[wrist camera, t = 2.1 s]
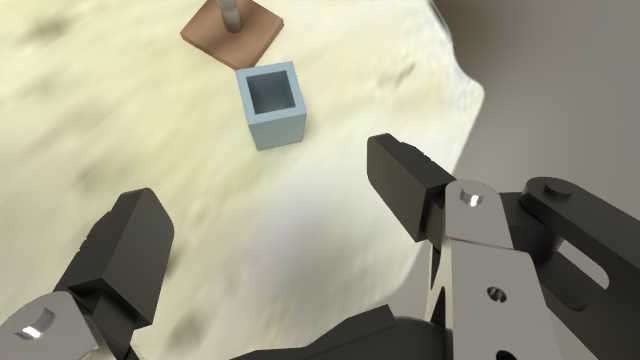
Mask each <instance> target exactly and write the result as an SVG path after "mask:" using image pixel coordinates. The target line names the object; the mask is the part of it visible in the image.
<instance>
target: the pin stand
mask: <svg viewBox="0 0 640 360" xmlns="http://www.w3.org/2000/svg"><path fill="white" fill-rule="evenodd" d="M282 27H283V19H282V18H280V17H279V16H277V15H275V14H274V13H272V12H270V11H269V10H267V9H265V8H264V7H262V6H261V5H259V4H257V3H256V2H254V1H252V0H207V1H206V2H205V4H204V5H203V6H202V7H201V8H200V9H199V11H198V12H197V13H196V14H195V15H194V17H193V18H192V19H191V20H190V21H189V22H188V24H187V25H186V26H185V27H184V28H183V30H182V31H181V32H180V34H181V36H182V38H183V39H184V40H185V41H187V42H189V43H190V44H192V45H194V46H195V47H197V48H199V49H200V50H202V51H204V52H205V53H207V54H209V55H210V56H212V57H214V58H215V59H217V60H219V61H220V62H222V63H224V64H225V65H227V66H229V67H230V68H232V69H234V70H240V69H247V68H253V67H254V65H255V64H256V63H257V61H258V60H259V58H260V57H261V56H262V54H263V53H264V52H265V50H266V49H267V47H268V46H269V45H270V43H271V42H272V41H273V39H274V38H275V36H276V35H277V34H278V32H279V31H280V30H281V28H282Z"/></svg>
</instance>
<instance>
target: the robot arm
mask: <svg viewBox="0 0 640 360" xmlns="http://www.w3.org/2000/svg"><path fill="white" fill-rule="evenodd" d="M367 175H368V179H369V181H370V183H371V185H372V186H373V188H374V189H375V190H376V192H377V193H378V194H379V195H380V197H381V198H382V199H383V201H384V202H385V203H386V205H387V206H388V207H389V208H390V210H391V211H392V212H393V214H394V215H395V216H396V218H397V219H398V220H399V221H400V223H401V224H402V225H403V227H404V228H405V229H406V231H407V232H408V233H409V234H410V236H411V237H412V238H413V240H414V241H415V242H416V243H417V242H420V241H423V240H426V239H428V240H429V241H430V242H431V243H432V245H431V250H430V266H429V285H428V300H427V307H426V312H425V320H422V319H417V318H413V317H405V316H393V314H392V312H391V310H390V308H389V306H388V304H386V305H383V306H380V307H378V308H375V309H372V310H369V311H366V312H363V313H361V314H358V315H355V316H352V317H349V318H347V319H345V320H344V321H342V322H341V323H340V324H338V325H337V326H335V327H334V328H333V329H331V330H330V331H328V332H327V333H325V334H324V335H323V336H321V337H320V338H318V339H317V340H316V341H314V342H313V343H311V344H310V345H308V346H306V347H302V348H287V349H270V350H256V351H253V352H250V353H247V354H244V355H241V356H239V357H236V358H233V359H230V360H563V358H562V355H561V352H560V349H559V345H558V342H557V339H556V336H555V332H554V329H553V326H552V323H551V319H550V316H549V313H548V310H547V307H548V308H549V309H550V310H551V311H552V312H553V313H554V314H555V315H556V316H557V317H558V318H559V319H560V320H561V321H562V322H563V323H564V324H565V325H566V327H567V328H568V329H569V330H570V331H571V332H572V333H574V335H575V336H576V337H577V338H578V339H579V340H580V341H581V342H582V343H583V344H584V345H585V346H586V347H587V348H588V349H589V350H590V351H591V352H592V353H593V354H594V355H595V356H596V357H597V359H598V360H640V221H639V220H637V219H635V218H634V217H632V216H630V215H628V214H627V213H625V212H623V211H621V210H619V209H618V208H616V207H614V206H612V205H611V204H609V203H607V202H605V201H604V200H602V199H600V198H598V197H597V196H595V195H593V194H591V193H589V192H588V191H586V190H584V189H582V188H580V187H579V186H577V185H575V184H573V183H570V182H568V181H565V180H562V179H558V178H552V177H536V178H532V179H530V180H529V181H528V182H527V183H526V185H525V187H524V189H523V191H522V192H512V193H511V192H510V193H498V192H497V191H496V190H494V189H493V188H492V187H490V186H488V185H486V184H484V183H481V182H478V181H474V180H457V179H456V178H454V177H453V176H452V175H450V174H449V173H448V172H447V171H445V170H444V169H443V168H441V167H440V166H439V165H438V164H436V163H435V162H434V161H431V159H430V158H429V157H427V156H426V155H424V153H422V152H421V151H420V150H418V149H417V148H416V147H414V146H412V145H409V144H407V143H404V142H401V143H400V142H399V141H398V140H397V139H395V138H394V137H393V136H392V135H391V134H389V133H385V134H381V135H376V136H372V137H369V138H368V142H367ZM86 238H87V240H84V242H83V244H82V245H81V247H80V248H79V249H80V251H78V252H77V253H76V255H75V256H74V258H73V260H72V261H71V263H70V264H69V266H68V268H67V269H66V271H65V273H64V274H63V276H62V277H61V279H60V281H59V282H58V284H57V285H56V287H55V289H54V290H53V292H52V293H49V294H46V295H43V296H41V297H39V298H37V299H35V300H33V301H31V302H30V303H28V304H26V305H25V306H23V307H22V308H20V309H19V310H18V311H17V312H15V313H14V314H13V315H12V316H10V317H9V318H8V319H7V320H6V321H5V322H4V323H3V324H2V325H1V326H0V360H145V359H144V357H143V356H142V354H141V353H140V351H139V350H138V348H137V347H136V345H135V344H134V343H133V342H131V338H132V334H133V331H134V330H136V329H139V328H143V327H146V326H149V325H152V323H153V319H154V315H155V311H156V307H157V303H158V299H159V295H160V291H161V287H162V283H163V279H164V275H165V271H166V267H167V263H168V258H169V254H170V250H171V246H172V242H173V238H174V226H173V223H172V221H171V219H170V217H169V215H168V214H167V212H166V211H165V209H164V208H163V206H162V204H161V203H160V201H159V200H158V198H157V196H156V195H155V193H154V192H153V191H152V190H151V189H150V188H143V189H138V190H134V191H130V192H125V193H122V194H121V195H120V196H119V198H118V200H117V201H116V203H115V205H114V206H113V208H112V210H111V211H109V212H107V213H106V214H105V215H104V216H103V217H102V218H101V219H100V220H99V221H98V222H96V223H95V224H94V226H93V227H92V229H91V231H90V232H89V234H88V236H87V237H86ZM564 240H567V241H568V242H569V243H571V244H572V245H573V246H575V247H576V248H577V249H579V250H580V251H581V252H582V253H584V254H585V255H586V256H588V257H589V258H590V259H592V260H593V261H594V262H596V263H597V264H598V265H599V266H601V267H602V268H603V269H604V270H605V272H606V274H607V275H608V278H609V286H608V287H607V289H604V288H603V287H601V286H600V285H599V284H598V283H596V282H595V281H594V280H593V279H592V278H590V277H589V276H588V275H586V274H585V273H584V272H583V271H582V270H580V269H579V268H578V267H577V266H576V265H574V264H573V263H572V262H571V261H569V260H568V259H567V258H566V257H564V256H563V255H562V254H561V253H559V252H558V251H557V250H558V249H559V247H560V246H561V244H562V243H563V242H564Z"/></svg>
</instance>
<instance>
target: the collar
mask: <svg viewBox="0 0 640 360" xmlns="http://www.w3.org/2000/svg"><path fill="white" fill-rule="evenodd" d="M235 73H236V77H237V81H238V85H239V89H240V93H241V97H242V102H243V106H244V110H245V114H246V118H247V122H248V126H249V128H250V131H251V134H252V137H253V139H254V142H255V145H256V148H257V150H258V151H259V150H264V149H268V148H273V147H277V146H282V145H286V144H291V143H295V142H300V141H301V140H302V135H303V130H304V125H305V120H306V115H307V112H306V109H305V105H304V101H303V98H302V94H301V91H300V87H299V84H298V80H297V76H296V73H295V69H294V66H293V62H292V61H290V62H284V63H278V64H271V65H265V66H259V67H253V68H247V69H240V70H235ZM285 108H286V109H285ZM280 109H283V110H280ZM275 110H277V111H275ZM270 111H272V112H270ZM265 112H267V113H265ZM260 113H262V114H260ZM256 114H257V115H256Z"/></svg>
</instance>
